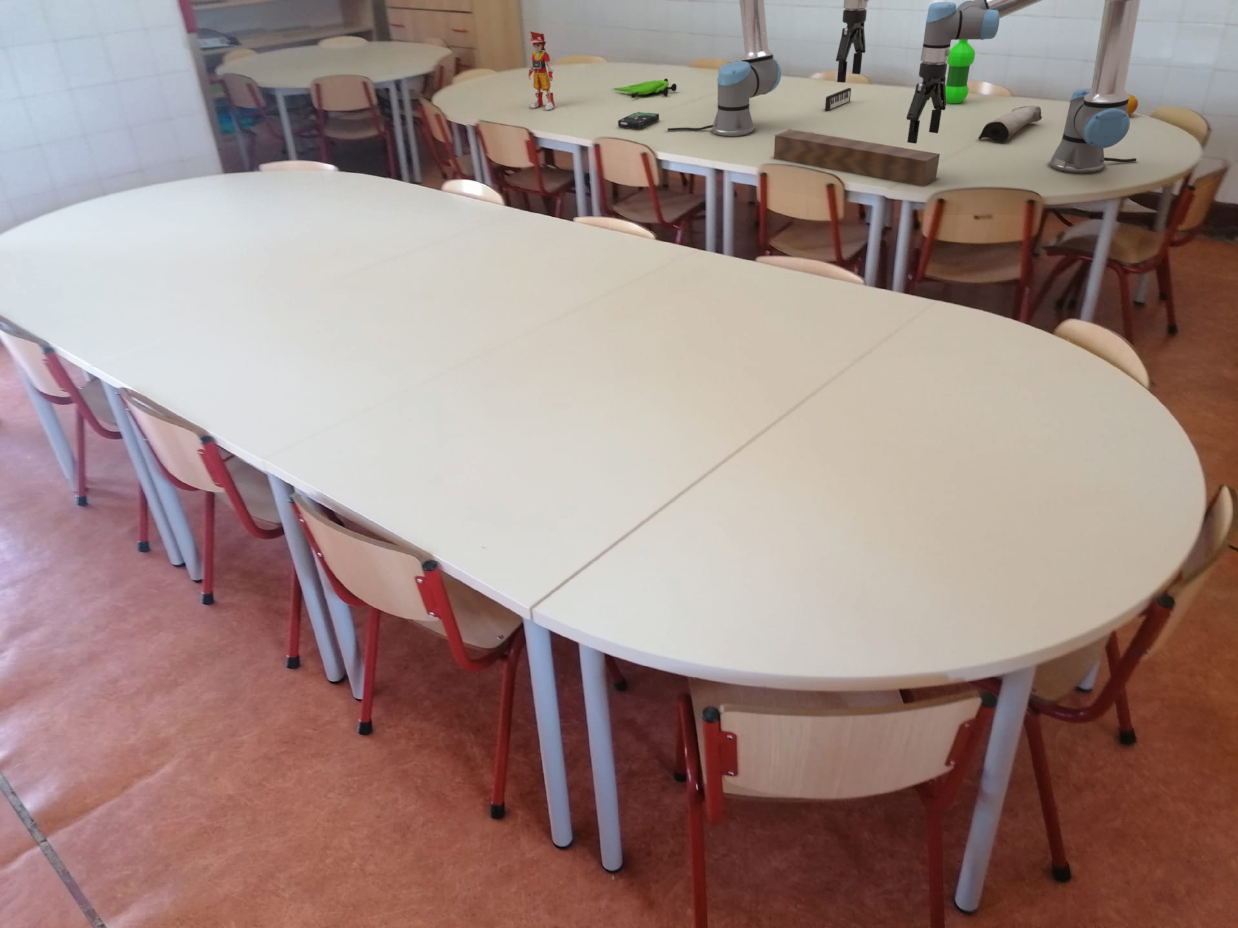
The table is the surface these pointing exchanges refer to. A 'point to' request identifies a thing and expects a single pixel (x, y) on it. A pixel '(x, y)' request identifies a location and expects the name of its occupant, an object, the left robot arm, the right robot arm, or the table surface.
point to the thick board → (857, 157)
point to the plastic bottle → (959, 71)
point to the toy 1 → (541, 71)
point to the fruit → (1132, 104)
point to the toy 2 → (648, 88)
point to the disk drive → (638, 120)
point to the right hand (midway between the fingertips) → (922, 137)
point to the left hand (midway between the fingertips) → (848, 78)
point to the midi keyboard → (837, 99)
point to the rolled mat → (1010, 123)
